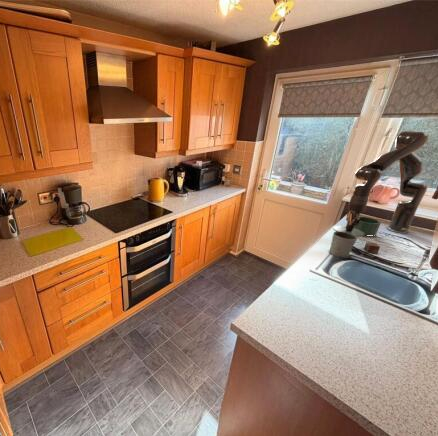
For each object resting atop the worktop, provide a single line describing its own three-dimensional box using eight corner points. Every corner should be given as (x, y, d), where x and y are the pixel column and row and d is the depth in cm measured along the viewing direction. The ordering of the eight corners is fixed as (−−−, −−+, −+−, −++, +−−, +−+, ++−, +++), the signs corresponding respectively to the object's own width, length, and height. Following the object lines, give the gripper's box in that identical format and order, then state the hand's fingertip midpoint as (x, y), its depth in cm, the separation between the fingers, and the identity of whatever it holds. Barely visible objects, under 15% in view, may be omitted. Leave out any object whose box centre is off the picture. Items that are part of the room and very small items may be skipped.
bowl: (329, 226, 150) (332, 216, 147) (357, 229, 145) (361, 219, 142) (337, 235, 137) (340, 224, 135) (368, 239, 132) (372, 228, 130)
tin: (346, 227, 165) (350, 215, 161) (370, 230, 160) (375, 217, 157) (353, 235, 153) (358, 222, 150) (379, 238, 148) (385, 225, 145)
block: (363, 248, 136) (366, 241, 134) (373, 250, 134) (376, 243, 132) (367, 252, 132) (369, 245, 130) (377, 253, 130) (380, 246, 129)
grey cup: (344, 251, 133) (351, 232, 129) (354, 260, 124) (361, 240, 120) (324, 248, 136) (330, 230, 131) (332, 257, 127) (339, 238, 122)
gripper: (371, 206, 127) (361, 235, 133) (361, 200, 139) (352, 226, 145) (354, 205, 129) (345, 233, 136) (345, 198, 141) (337, 224, 148)
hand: (348, 229), depth 140 cm, fingers closed on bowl, 2 cm apart
